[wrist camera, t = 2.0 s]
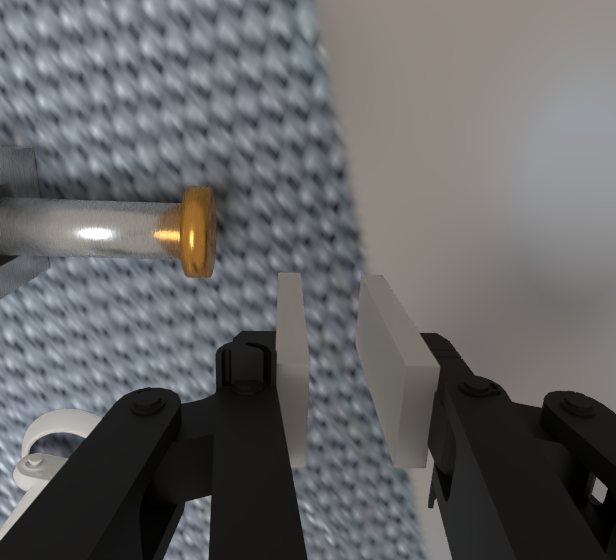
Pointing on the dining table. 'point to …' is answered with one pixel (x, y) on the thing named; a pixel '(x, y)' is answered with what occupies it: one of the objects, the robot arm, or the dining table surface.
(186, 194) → the pin
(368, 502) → the dining table surface
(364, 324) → the robot arm
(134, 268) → the dining table surface
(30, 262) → the block
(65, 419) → the grey ring with handle
